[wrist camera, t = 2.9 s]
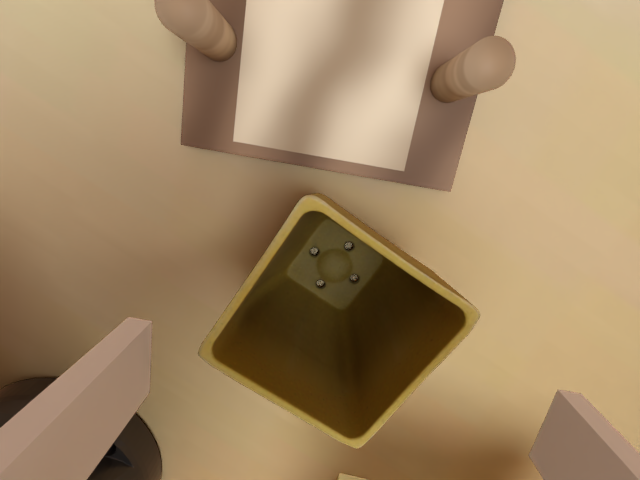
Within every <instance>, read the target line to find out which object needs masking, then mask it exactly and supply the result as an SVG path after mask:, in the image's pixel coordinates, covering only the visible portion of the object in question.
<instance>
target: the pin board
mask: <svg viewBox="0 0 640 480" xmlns="http://www.w3.org/2000/svg"><path fill="white" fill-rule="evenodd" d="M503 1H504V0H155V10H156V13H157V16H158V18H159V20H160V21H161V23H162V24H163V25H164V26H165V27H166V28H167V29H168V30H170V31H171V32H172V33H174V34H175V35H177V36H178V37H180V38H181V39H183V40H184V41H185V42H186V60H185V78H184V96H183V115H182V133H181V145H186V146H192V147H197V148H203V149H209V150H215V151H220V152H226V153H232V154H237V155H243V156H249V157H255V158H260V159H266V160H272V161H277V162H283V163H289V164H295V165H300V166H306V167H312V168H317V169H323V170H329V171H334V172H340V173H346V174H352V175H357V176H363V177H369V178H374V179H380V180H386V181H392V182H397V183H403V184H409V185H414V186H420V187H426V188H432V189H437V190H443V191H449V192H451V188H452V185H453V181H454V177H455V174H456V170H457V167H458V163H459V159H460V156H461V152H462V149H463V145H464V141H465V138H466V134H467V131H468V127H469V123H470V120H471V116H472V113H473V109H474V105H475V102H476V98H477V95H478V94H480V93H483V92H487V91H490V90H493V89H496V88H498V87H500V86H502V85H503V84H504V83H505V82H506V81H507V80H508V79H509V78H510V76H511V75H512V73H513V70H514V68H515V62H516V57H515V51H514V49H513V47H512V45H511V44H510V43H509V42H508V41H507V40H506V39H504V38H502V37H499V36H494V33H495V30H496V26H497V22H498V19H499V15H500V12H501V8H502V4H503Z"/></svg>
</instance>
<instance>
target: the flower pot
mask: <svg viewBox="0 0 640 480" xmlns="http://www.w3.org/2000/svg"><path fill="white" fill-rule="evenodd" d="M347 242H351V243H353V248H352V249H351V250H346V249H345V244H346V243H347ZM312 248H317V249H318V250H319V253H318V255H312V254H311V253H310V250H311V249H312ZM354 274H355V275H357V276H358V280H357V281H356V282H352V281H351V280H350V277H351V276H352V275H354ZM318 280H323V281H324V282H325V285H324V286H323V287H318V286H317V285H316V282H317V281H318ZM479 317H480V313H479V311H478V309H477V308H476V307H475V306H473V305H472V304H471V303H470V302H468V301H467V300H466V299H465V298H464V297H463V296H461V295H460V294H459V293H458V292H457V291H456V290H454V289H453V288H452V287H451V286H450V285H448V284H447V283H446V282H445V281H444V280H442V279H441V278H440V277H439V276H438V275H436V274H435V273H434V272H433V271H432V270H430V269H429V268H428V267H426V266H425V265H423V264H422V263H420V262H418V261H417V260H415V259H414V258H412V257H411V256H409V255H408V254H407V253H405V252H404V251H402V250H401V249H399V248H398V247H396V246H395V245H393V244H392V243H390V242H389V241H388V240H386V239H385V238H383V237H382V236H380V235H379V234H378V233H376V232H375V231H373V230H372V229H371V228H369V227H368V226H366V225H365V224H364V223H362V222H361V221H360V220H358V219H357V218H355V217H354V216H353V215H351V214H350V213H348V212H347V211H346V210H344V209H343V208H342V207H340V206H339V205H337V204H336V203H335V202H333V201H332V200H331V199H329V198H328V197H326V196H325V195H323V194H320V193H315V194H310V195H305V196H304V197H302V198H301V199H300V200H299V201H298V203H297V204H296V206H295V207H294V209H293V210H292V212H291V213H290V215H289V216H288V218H287V220H286V221H285V223H284V224H283V226H282V227H281V229H280V230H279V232H278V233H277V235H276V236H275V238H274V239H273V240H272V242H271V243H270V245H269V246H268V248H267V249H266V251H265V252H264V254H263V255H262V257H261V259H260V260H259V261H258V263H257V264H256V266H255V267H254V269H253V270H252V271H251V273H250V274H249V276H248V277H247V279H246V280H245V282H244V283H243V285H242V286H241V287H240V289H239V290H238V292H237V293H236V295H235V296H234V298H233V299H232V301H231V302H230V303H229V305H228V306H227V308H226V309H225V311H224V312H223V314H222V315H221V317H220V318H219V319H218V321H217V322H216V324H215V325H214V327H213V328H212V330H211V331H210V332H209V334H208V335H207V336H206V338H205V339H204V341H203V343H202V344H201V346H200V348H199V352H198V354H199V356H200V357H201V358H202V359H203V360H204V361H205V362H207V363H208V364H209V365H211V366H212V367H214V368H216V369H217V370H219V371H221V372H222V373H223V374H225V375H227V376H228V377H230V378H232V379H233V380H235V381H237V382H238V383H240V384H242V385H243V386H245V387H247V388H249V389H251V390H252V391H254V392H256V393H257V394H259V395H261V396H262V397H264V398H266V399H267V400H269V401H271V402H272V403H274V404H276V405H278V406H280V407H281V408H283V409H285V410H287V411H288V412H290V413H292V414H293V415H295V416H297V417H298V418H300V419H302V420H303V421H305V422H307V423H308V424H310V425H312V426H314V427H315V428H317V429H319V430H320V431H322V432H323V433H325V434H326V435H328V436H330V437H332V438H333V439H336V440H337V441H339V442H341V443H343V444H346V445H348V446H351V447H353V448H355V449H358V448H360V447H362V446H363V445H364V444H365V443H367V442H368V441H369V440H370V439H371V438H372V437H373V436H374V435H375V433H376V432H377V431H378V430H379V429H380V428H381V427H382V426H383V425H384V424H385V422H386V421H387V420H388V419H389V418H390V417H391V416H392V415H393V414H394V412H395V411H396V410H397V409H398V408H399V407H400V406H401V405H402V404H403V403H404V402H405V400H406V399H407V398H408V397H409V396H410V395H411V394H412V393H413V392H414V391H415V389H416V388H417V387H418V386H419V385H420V384H421V383H422V382H423V381H424V380H425V379H426V378H427V377H428V376H429V375H430V374H431V373H432V372H433V371H434V370H435V369H436V368H437V367H438V365H440V364H441V363H442V362H443V361H444V359H445V358H446V357H447V356H448V355H449V354H450V353H451V352H452V351H453V350H454V349H455V348H456V347H457V346H458V345H459V344H460V342H461V341H462V340H463V339H464V338H465V337H466V336H467V335H468V334H469V333H470V331H471V330H472V329H473V327H474V326H475V324H476V322H477V321H478V319H479Z"/></svg>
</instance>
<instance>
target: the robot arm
mask: <svg viewBox="0 0 640 480" xmlns="http://www.w3.org/2000/svg"><path fill="white" fill-rule="evenodd" d="M151 344H152V321H149V320H144V319H138V318H132V317H128V318H126V319H125V320H124V321H123V322H122V323H121V324H119V325H118V326H117V327H116V328H115V329H114V330H113V331H111V332H110V333H109V334H108V335H107V336H106V337H105V338H103V339H102V340H101V341H100V342H99V343H98V344H96V345H95V346H94V347H93V348H92V349H91V350H90V351H88V352H87V353H86V354H85V355H84V356H83V357H81V358H80V359H79V360H78V361H77V362H76V363H75V364H73V365H72V366H71V367H70V368H69V369H68V370H66V371H65V372H64V373H63V374H62V375H61V376H60V377H58V378H34V379H27V380H22V381H19V382H15V383H12V384H10V385H7V386H5V387H3V388H1V389H0V480H160V479H161V472H162V466H161V458H160V454H159V450H158V447H157V445H156V442H155V440H154V438H153V436H152V435H151V433H150V431H149V430H148V428H147V427H146V426H145V424H144V423H143V422H142V421H141V420H140V419H139V417H138V416H137V415H136V414H135V412H136V411H137V410H138V408H139V407H140V405H141V404H142V403H143V401H144V400H145V399H146V397H147V396H148V394H149V393H150V373H151ZM529 457H530V458H531V460H532V462H533V463H534V465H535V467H536V468H537V470H538V471H539V473H540V475H541V476H542V478H543V479H544V480H640V453H639V452H638V451H637V450H636V449H635V448H634V447H633V446H632V445H631V444H630V443H629V442H628V441H627V440H626V439H625V438H624V437H623V436H622V435H621V434H620V433H619V432H618V431H617V430H616V429H615V428H614V427H613V426H612V425H611V424H610V423H609V422H608V421H607V420H606V419H605V418H604V416H603V415H602V414H601V413H600V412H599V411H598V410H597V409H596V408H595V407H594V406H593V405H592V404H591V403H590V402H589V401H588V400H587V399H586V398H585V397H584V396H583V395H582V394H581V393H576V392H570V391H564V390H557V392H556V394H555V397H554V399H553V401H552V404H551V406H550V408H549V410H548V413H547V415H546V417H545V419H544V422H543V424H542V426H541V428H540V431H539V433H538V435H537V438H536V440H535V442H534V444H533V447H532V449H531V451H530V453H529Z"/></svg>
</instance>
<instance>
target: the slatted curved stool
mask: <svg viewBox="0 0 640 480" xmlns="http://www.w3.org/2000/svg"><path fill="white" fill-rule="evenodd" d="M337 480H368V479H364V478H359V477H355V476H351V475H347V474H343V473H339V475H338V478H337Z"/></svg>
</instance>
